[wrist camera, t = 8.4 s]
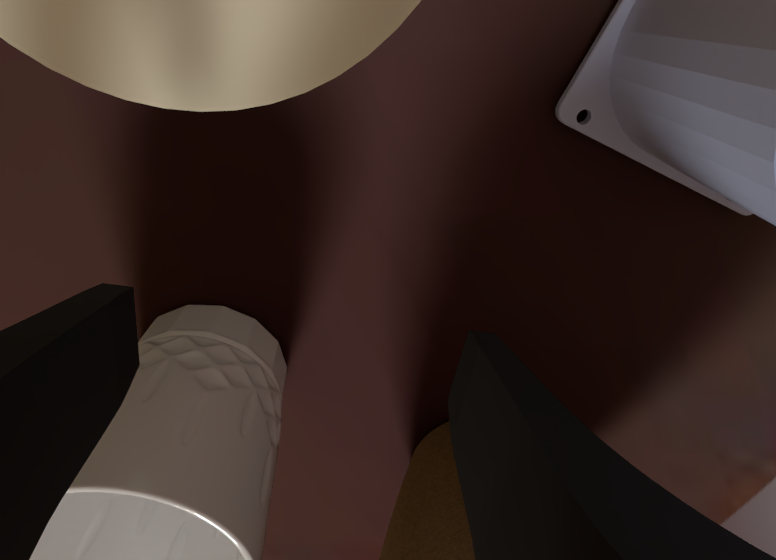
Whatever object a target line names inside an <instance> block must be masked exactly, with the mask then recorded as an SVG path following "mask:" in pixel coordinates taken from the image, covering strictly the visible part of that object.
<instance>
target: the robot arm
mask: <svg viewBox="0 0 776 560" xmlns="http://www.w3.org/2000/svg"><path fill="white" fill-rule="evenodd" d="M584 109H586V110H587V117H586V119H585V120H584V121H582V122H577V119H576V118H577V115H578V113H579V112H580V111H582V110H584ZM555 115H556V117H557V119H558V120H559V121H560V122H562V123H563V124H565V125H567V126H569V127H571V128H573V129H575V130H577V131H579V132H581V133H582V134H584V135H586V136H588V137H590V138H592V139H594V140H596V141H598V142H600V143H602V144H604V145H606V146H608V147H610V148H612V149H614V150H616V151H618V152H620V153H622V154H624V155H626V156H628V157H630V158H631V159H633V160H635V161H637V162H639V163H641V164H643V165H645V166H647V167H649V168H651V169H653V170H655V171H657V172H659V173H661V174H663V175H665V176H667V177H669V178H671V179H673V180H675V181H677V182H679V183H681V184H682V185H684V186H686V187H688V188H690V189H692V190H694V191H696V192H698V193H700V194H702V195H704V196H706V197H708V198H710V199H712V200H714V201H716V202H718V203H720V204H722V205H724V206H726V207H728V208H730V209H732V210H733V211H735V212H737V213H739V214H741V215H745V216H747V215H752V214H755V215H757V216H759V217H761V218H762V219H764V220H766V221H768V222H769V223H771V224H773V225H775V226H776V0H618V2H617V4H616V5H615V7H614V9H613V10H612V12H611V14H610V16H609V17H608V19H607V21H606V22H605V24H604V26H603V27H602V29H601V31H600V32H599V34H598V36H597V37H596V39H595V41H594V42H593V44H592V46H591V48H590V49H589V51H588V53H587V54H586V56H585V58H584V59H583V61H582V63H581V64H580V66H579V68H578V69H577V71H576V73H575V74H574V76H573V78H572V80H571V81H570V83H569V85H568V86H567V88H566V90H565V91H564V93H563V95H562V96H561V98H560V100H559V101H558V103H557V106H556V108H555ZM139 365H140V362H139V350H138V338H137V326H136V314H135V302H134V290H133V287H128V286H120V285H112V284H104V283H102V284H100V285H97V286H95V287H92V288H90V289H88V290H86V291H83V292H81V293H79V294H77V295H75V296H73V297H71V298H69V299H66V300H64V301H62V302H60V303H58V304H56V305H54V306H52V307H50V308H48V309H46V310H44V311H42V312H40V313H37V314H35V315H33V316H31V317H29V318H27V319H25V320H23V321H21V322H19V323H17V324H14V325H12V326H10V327H8V328H6V329H4V330H2V331H0V560H29V559H30V557H31V555H32V553H33V551H34V549H35V547H36V545H37V543H38V541H39V539H40V537H41V536H42V534H43V532H44V530H45V528H46V526H47V524H48V522H49V520H50V519H51V517H52V515H53V513H54V512H55V510H56V508H57V507H58V505H59V503H60V501H61V500H62V498H63V497H64V495H65V494H66V492H67V490H68V489H69V487H70V486H71V484H72V483H73V481H74V479H75V478H76V476H77V475H78V473H79V472H80V470H81V468H82V467H83V465H84V464H85V462H86V461H87V459H88V458H89V456H90V454H91V453H92V451H93V450H94V448H95V447H96V445H97V444H98V442H99V440H100V439H101V437H102V436H103V434H104V432H105V431H106V429H107V428H108V426H109V424H110V423H111V421H112V420H113V418H114V417H115V415H116V413H117V412H118V410H119V408H120V407H121V405H122V403H123V401H124V399H125V396H126V394H127V392H128V390H129V388H130V386H131V383H132V381H133V379H134V377H135V374H136V372H137V370H138V367H139ZM448 411H449V424H450V435H451V443H452V448H453V453H454V458H455V462H456V467H457V472H458V477H459V481H460V486H461V490H462V495H463V500H464V504H465V509H466V513H467V518H468V523H469V527H470V532H471V537H472V543H473V548H474V554H475V560H776V558H774V557H772V556H770V555H769V554H767V553H765V552H763V551H761V550H760V549H758V548H756V547H754V546H753V545H751V544H749V543H748V542H746V541H744V540H743V539H741V538H739V537H738V536H736V535H734V534H733V533H731V532H730V531H728V530H726V529H724V528H723V527H721V526H720V525H718V524H717V523H715V522H713V521H712V520H710V519H709V518H707V517H705V516H704V515H702V514H701V513H699V512H698V511H696V510H695V509H693V508H692V507H690V506H689V505H687V504H686V503H684V502H683V501H681V500H680V499H678V498H677V497H675V496H674V495H673V494H671V493H670V492H668V491H667V490H666V489H664V488H663V487H661V486H660V485H658V484H657V483H656V482H654V481H653V480H651V479H650V478H649V477H647V476H646V475H645V474H643V473H642V472H641V471H639V470H638V469H637V468H635V467H634V466H633V465H631V464H630V463H629V462H628V461H626V460H625V459H624V458H623V457H622V456H620V455H619V454H618V453H617V452H615V451H614V450H613V449H612V448H610V447H609V446H608V445H607V444H606V443H604V442H603V441H602V440H601V439H600V438H598V437H597V436H596V435H595V434H594V433H593V432H592V431H590V430H589V429H588V428H587V427H586V426H585V425H584V424H583V423H582V422H581V421H580V420H579V419H578V418H576V417H575V416H574V415H573V414H572V413H571V412H570V411H569V410H568V409H567V408H566V407H565V406H564V405H563V404H562V403H561V402H560V401H559V400H558V399H557V398H556V397H555V396H554V395H553V394H552V393H551V392H550V391H549V390H548V389H547V388H546V387H545V386H544V385H543V384H542V383H541V382H540V381H539V380H538V379H537V378H536V376H535V375H534V374H533V373H532V372H531V371H530V370H529V369H528V368H527V367H526V366H525V365H524V364H523V362H522V361H521V360H520V359H519V358H518V357H517V356H516V355H515V354H514V353H513V352H512V350H511V349H510V348H509V347H508V346H507V345H506V344H505V343H504V342H503V341H502V340H501V339H500V338H499V337H498V336H497V335H496V334H495V333H487V332H479V331H471V330H468V334H467V337H466V340H465V344H464V347H463V350H462V354H461V357H460V360H459V364H458V367H457V370H456V373H455V377H454V380H453V383H452V387H451V390H450V393H449V397H448Z"/></svg>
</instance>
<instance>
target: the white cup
mask: <svg viewBox="0 0 776 560" xmlns="http://www.w3.org/2000/svg"><path fill="white" fill-rule="evenodd" d="M138 350H139V362H140V365H139V367H138V370H137V372H136V374H135V377H134V379H133V381H132V383H131V386H130V388H129V390H128V392H127V394H126V396H125V399H124V401H123V403H122V405H121V407H120V408H119V410H118V412H117V413H116V415H115V417H114V418H113V420H112V421H111V423H110V424H109V426H108V428H107V429H106V431H105V432H104V434H103V436H102V437H101V439H100V440H99V442H98V444H97V445H96V447H95V448H94V450H93V451H92V453H91V454H90V456H89V458H88V459H87V461H86V462H85V464H84V465H83V467H82V468H81V470H80V472H79V473H78V475H77V476H76V478H75V479H74V481H73V483H72V484H71V486H70V487H69V489H68V490H67V492H66V494H65V495H64V497H63V498H62V500H61V501H60V503H59V505H58V507H57V508H56V510H55V512H54V513H53V515H52V517H51V519H50V520H49V522H48V524H47V526H46V528H45V530H44V532H43V534H42V536H41V537H40V539H39V541H38V543H37V545H36V547H35V549H34V551H33V553H32V555H31V557H30V559H29V560H262V555H263V549H264V542H265V535H266V528H267V522H268V515H269V508H270V502H271V495H272V489H273V482H274V476H275V469H276V462H277V456H278V446H279V438H280V429H281V422H282V419H281V404H282V396H283V390H284V384H285V378H286V372H287V365H286V363H285V360H284V357H283V354H282V351H281V348H280V345H279V342H278V341H277V340H276V339H275V338H274V337H273V336H272V335H271V334H270V333H269V332H268V331H267V330H266V329H265V328H264V327H263V326H262V325H261V324H260V323H259V322H258V321H257V320H256V319H254V318H252V317H249V316H247V315H245V314H242V313H240V312H237V311H235V310H232V309H230V308H228V307H225V306H219V305H185V306H183V307H180V308H178V309H175V310H173V311H170V312H168V313H165V314H163V315H160V316H158V317H157V318H156V319H155V320H154V322H153V323H152V324H151V325H150V327H149V328H148V329H147V330H146V332H145V333H144V334H143V335H142V337H141V338H140V339H139V341H138Z"/></svg>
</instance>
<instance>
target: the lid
mask: <svg viewBox="0 0 776 560" xmlns="http://www.w3.org/2000/svg"><path fill="white" fill-rule="evenodd" d="M420 1H421V0H0V37H1V38H2V39H4V40H5V41H6V42H8V43H9V44H10V45H12V46H14V47H15V48H17V49H18V50H20V51H22V52H23V53H25V54H27V55H28V56H30V57H31V58H33V59H35V60H36V61H38V62H40V63H41V64H43V65H45V66H46V67H48V68H50V69H52V70H54V71H56V72H58V73H60V74H62V75H64V76H66V77H68V78H70V79H73V80H75V81H77V82H79V83H81V84H83V85H85V86H87V87H90V88H93V89H96V90H98V91H101V92H104V93H107V94H110V95H113V96H116V97H118V98H121V99H124V100H128V101H132V102H137V103H141V104H146V105H150V106H155V107H159V108H164V109H175V110H186V111H196V112H210V111H234V110H242V109H247V108H253V107H258V106H264V105H269V104H273V103H276V102H279V101H282V100H285V99H288V98H291V97H294V96H297V95H300V94H303V93H306V92H308V91H310V90H312V89H314V88H316V87H318V86H320V85H322V84H324V83H326V82H328V81H330V80H332V79H334V78H336V77H338V76H339V75H341V74H342V73H343V72H345V71H346V70H348V69H349V68H351V67H352V66H354V65H355V64H356V63H358V62H359V61H361V60H362V59H364V58H365V57H367V56H368V55H369V54H370V53H371V52H373V51H374V50H375V49H376V48H377V47H378V46H379V45H380V44H381V43H382V42H383V41H385V40H386V39H387V38H388V37H389V36H390V35H391V34H392V33H393V32H394V31H395V30H397V29H398V27H399V26H400V25H401V24H402V23H403V22H404V20H405V19H406V18H407V17H408V16H409V14H410V13H411V12H412V11H413V10H414V8H415V7H416V6H417V5H418V4H419V3H420Z"/></svg>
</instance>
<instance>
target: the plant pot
mask: <svg viewBox="0 0 776 560" xmlns="http://www.w3.org/2000/svg"><path fill="white" fill-rule="evenodd" d="M379 560H475V554H474V548H473V543H472V537H471V532H470V527H469V523H468V518H467V513H466V509H465V504H464V500H463V495H462V490H461V486H460V481H459V477H458V472H457V467H456V462H455V458H454V453H453V448H452V443H451V435H450V424H449V421H448V422H446V423H444V424H442V425H440V426H439V427H437V428H436V429H434V430H432V431H431V432H430V433H429V434H428V435H426V436H425V437H424V438H423V440H422V441H421V442H420V443H419V445H418V446H417V448H416V449H415V451H414V453H413V456H412V459H411V461H410V464H409V467H408V469H407V472H406V475H405V477H404V480H403V483H402V486H401V489H400V492H399V495H398V498H397V501H396V504H395V507H394V510H393V514H392V517H391V520H390V524H389V527H388V531H387V534H386V538H385V541H384V545H383V548H382V552H381V556H380V559H379Z"/></svg>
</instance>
